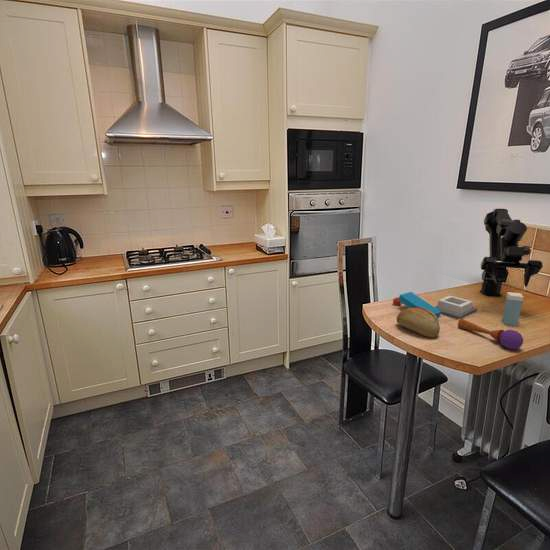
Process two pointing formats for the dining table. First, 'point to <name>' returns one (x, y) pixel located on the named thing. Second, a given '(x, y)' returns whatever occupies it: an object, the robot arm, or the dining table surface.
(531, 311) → the dining table surface
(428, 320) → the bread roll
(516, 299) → the box with white lid
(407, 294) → the blue long block
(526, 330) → the dining table surface
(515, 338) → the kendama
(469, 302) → the board
